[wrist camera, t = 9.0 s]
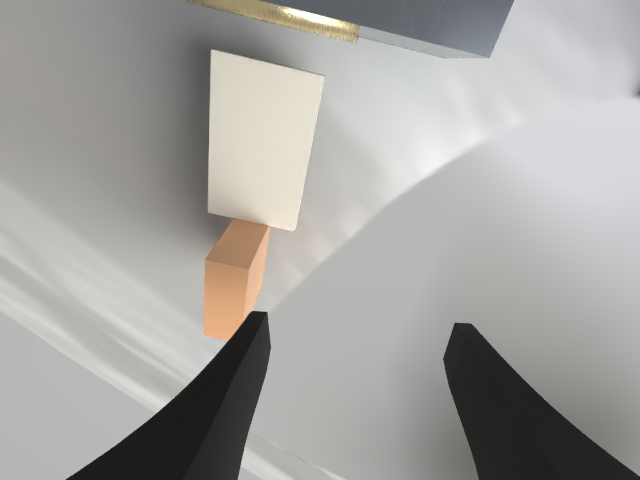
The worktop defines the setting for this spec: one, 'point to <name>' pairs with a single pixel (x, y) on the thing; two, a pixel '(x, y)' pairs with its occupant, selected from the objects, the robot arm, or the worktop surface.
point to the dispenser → (387, 21)
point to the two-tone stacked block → (253, 174)
